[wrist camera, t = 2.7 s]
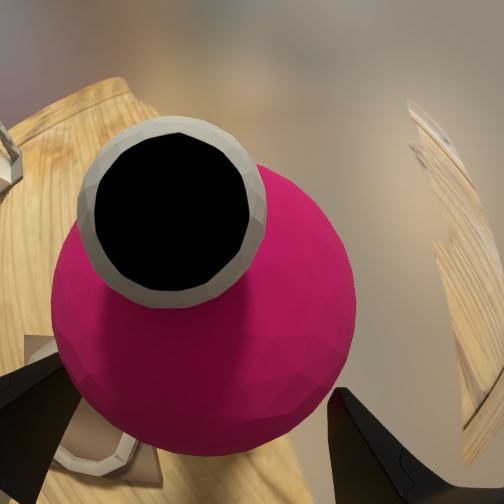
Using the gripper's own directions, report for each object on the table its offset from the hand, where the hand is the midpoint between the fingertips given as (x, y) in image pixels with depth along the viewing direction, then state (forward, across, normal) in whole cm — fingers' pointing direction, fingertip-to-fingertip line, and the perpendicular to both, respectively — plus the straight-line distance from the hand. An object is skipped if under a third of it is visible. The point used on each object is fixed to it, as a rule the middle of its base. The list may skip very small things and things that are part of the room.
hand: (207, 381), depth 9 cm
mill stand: (+4, +10, +12) cm, 16 cm away
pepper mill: (+9, 0, +7) cm, 12 cm away
